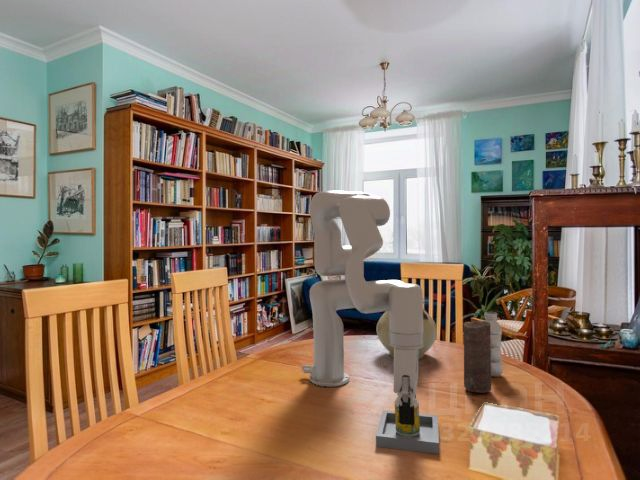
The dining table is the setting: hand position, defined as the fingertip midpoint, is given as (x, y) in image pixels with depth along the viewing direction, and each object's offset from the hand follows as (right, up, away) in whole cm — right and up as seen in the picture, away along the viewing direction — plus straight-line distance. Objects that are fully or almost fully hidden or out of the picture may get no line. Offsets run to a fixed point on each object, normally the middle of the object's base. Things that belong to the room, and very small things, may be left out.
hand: (408, 414), depth 89 cm
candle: (+25, -4, +24) cm, 35 cm away
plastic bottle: (+35, -4, +37) cm, 51 cm away
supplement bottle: (0, -4, 0) cm, 4 cm away
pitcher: (+14, -5, +60) cm, 61 cm away
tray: (0, -5, 0) cm, 5 cm away
